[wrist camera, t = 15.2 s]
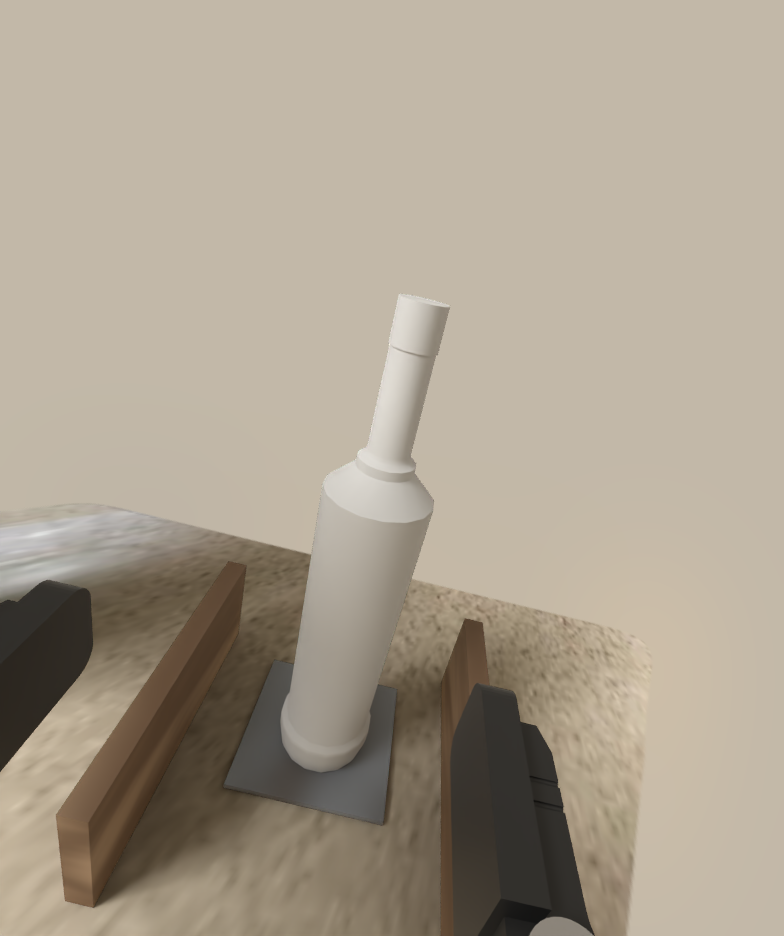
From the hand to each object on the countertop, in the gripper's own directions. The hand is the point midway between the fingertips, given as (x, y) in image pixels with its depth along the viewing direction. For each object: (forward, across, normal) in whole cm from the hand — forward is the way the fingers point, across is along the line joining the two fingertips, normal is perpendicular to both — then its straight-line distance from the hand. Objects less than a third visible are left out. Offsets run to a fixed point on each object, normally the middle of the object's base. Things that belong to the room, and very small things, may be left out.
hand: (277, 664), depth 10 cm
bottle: (+12, -1, +19) cm, 23 cm away
